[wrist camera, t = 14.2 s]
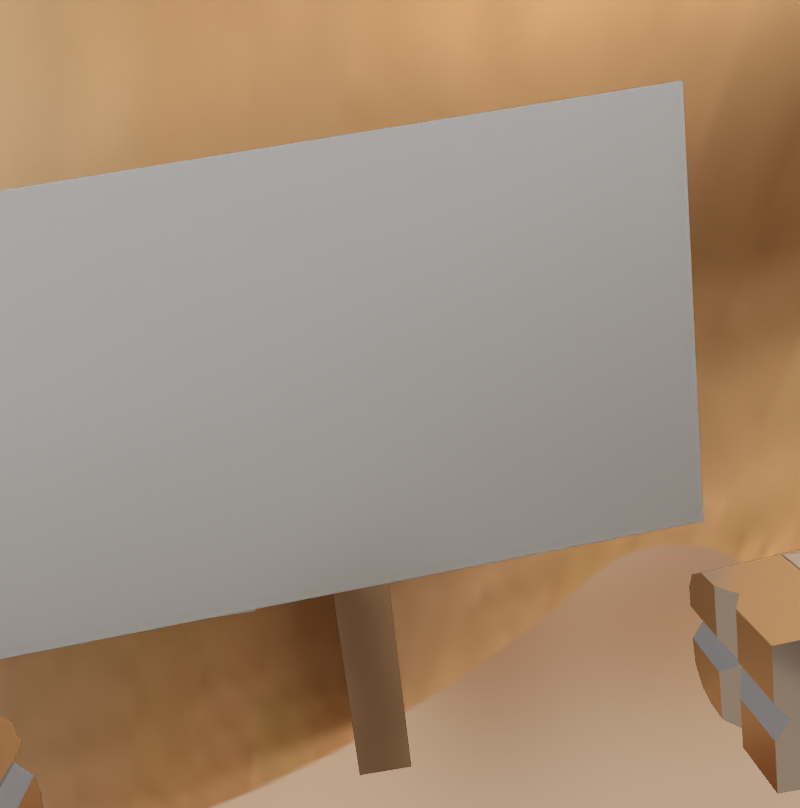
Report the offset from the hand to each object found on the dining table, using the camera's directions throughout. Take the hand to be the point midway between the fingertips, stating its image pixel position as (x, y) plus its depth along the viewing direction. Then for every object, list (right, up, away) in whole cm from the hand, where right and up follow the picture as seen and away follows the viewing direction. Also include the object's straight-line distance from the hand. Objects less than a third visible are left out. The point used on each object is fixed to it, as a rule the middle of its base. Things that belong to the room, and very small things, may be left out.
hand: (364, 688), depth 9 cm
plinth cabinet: (-6, +7, +24) cm, 26 cm away
